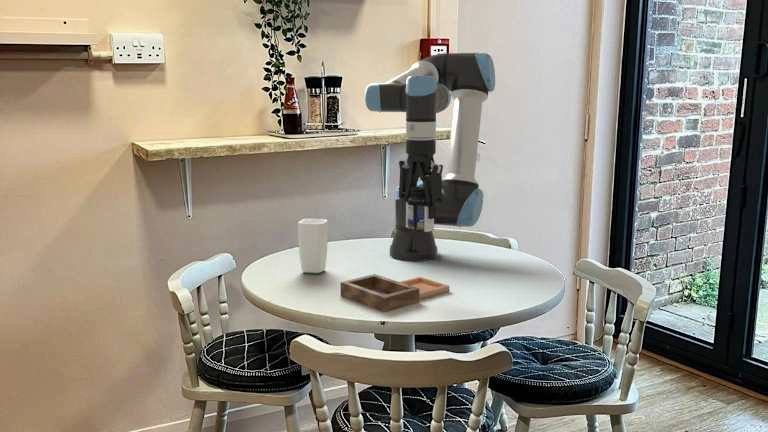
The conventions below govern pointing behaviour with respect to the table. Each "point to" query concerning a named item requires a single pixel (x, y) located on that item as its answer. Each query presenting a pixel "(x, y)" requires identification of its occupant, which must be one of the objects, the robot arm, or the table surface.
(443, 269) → the table surface
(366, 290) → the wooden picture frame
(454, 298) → the table surface
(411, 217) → the pill bottle
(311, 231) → the cup
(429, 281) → the tray
